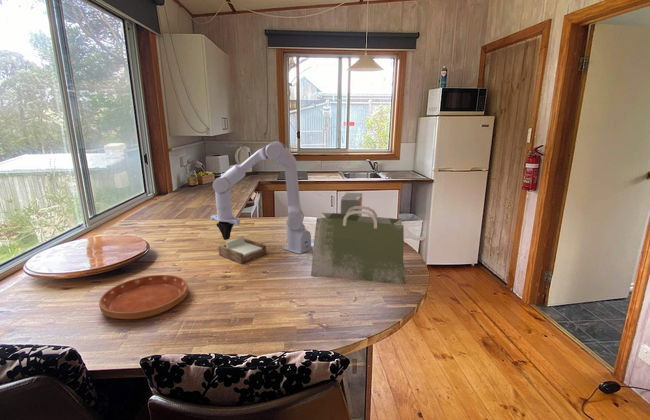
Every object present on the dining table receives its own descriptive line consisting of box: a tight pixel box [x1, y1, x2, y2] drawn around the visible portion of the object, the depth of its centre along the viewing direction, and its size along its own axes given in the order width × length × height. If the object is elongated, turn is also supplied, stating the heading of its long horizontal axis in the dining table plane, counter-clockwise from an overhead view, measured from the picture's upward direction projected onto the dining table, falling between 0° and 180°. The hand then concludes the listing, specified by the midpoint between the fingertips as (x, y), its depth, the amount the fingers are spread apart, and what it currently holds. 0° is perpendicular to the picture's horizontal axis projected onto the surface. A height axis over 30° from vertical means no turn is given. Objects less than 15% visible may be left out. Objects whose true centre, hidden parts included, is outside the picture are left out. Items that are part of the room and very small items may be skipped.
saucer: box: [98, 274, 189, 320], centre depth 100 cm, size 23×23×4 cm
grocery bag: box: [310, 205, 407, 284], centre depth 116 cm, size 32×14×23 cm, turn 79°
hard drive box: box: [340, 192, 363, 216], centre depth 147 cm, size 16×8×20 cm, turn 168°
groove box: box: [218, 237, 267, 265], centre depth 134 cm, size 14×12×4 cm
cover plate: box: [225, 236, 262, 257], centre depth 133 cm, size 11×9×3 cm
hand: (226, 239), depth 139 cm, fingers closed
